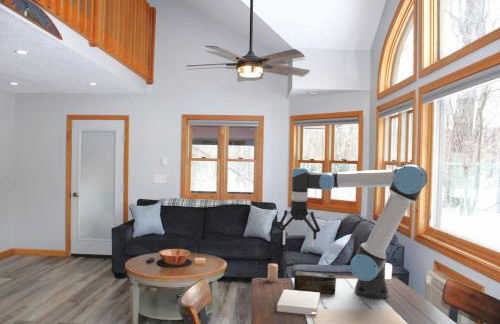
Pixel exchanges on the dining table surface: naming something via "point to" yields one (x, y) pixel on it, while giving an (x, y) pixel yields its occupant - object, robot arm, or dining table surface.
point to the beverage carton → (315, 282)
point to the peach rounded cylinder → (272, 272)
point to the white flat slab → (298, 302)
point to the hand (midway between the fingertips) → (298, 245)
